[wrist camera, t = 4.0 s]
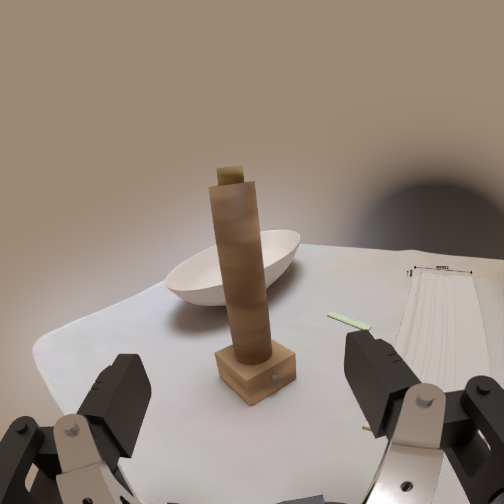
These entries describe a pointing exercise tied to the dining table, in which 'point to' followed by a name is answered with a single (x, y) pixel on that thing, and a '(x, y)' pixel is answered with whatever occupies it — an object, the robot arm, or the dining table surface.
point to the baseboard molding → (443, 332)
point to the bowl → (209, 275)
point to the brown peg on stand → (245, 293)
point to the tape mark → (349, 321)
